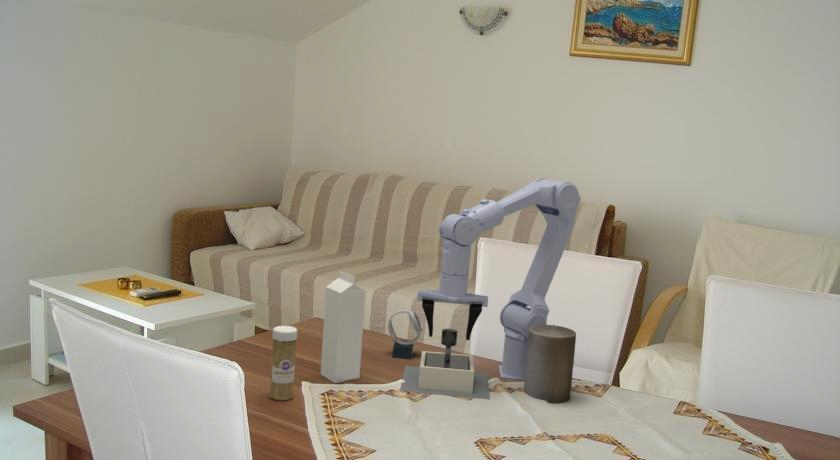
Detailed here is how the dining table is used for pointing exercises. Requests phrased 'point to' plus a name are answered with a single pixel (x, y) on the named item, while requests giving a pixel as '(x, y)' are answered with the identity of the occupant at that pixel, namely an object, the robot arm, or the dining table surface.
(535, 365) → the pillar candle
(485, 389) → the slate mat
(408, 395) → the dining table surface
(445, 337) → the plunger
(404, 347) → the watch
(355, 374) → the milk
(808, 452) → the dining table surface
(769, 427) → the dining table surface
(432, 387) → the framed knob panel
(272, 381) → the sprinkles bottle
